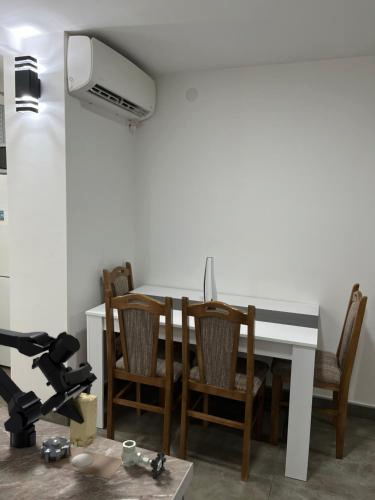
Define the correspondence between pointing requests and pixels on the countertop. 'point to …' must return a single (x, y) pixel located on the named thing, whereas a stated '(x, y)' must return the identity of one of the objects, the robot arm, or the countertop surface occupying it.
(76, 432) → the gold tall block
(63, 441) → the sun gear
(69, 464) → the carrier board
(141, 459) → the valve
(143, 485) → the countertop surface
